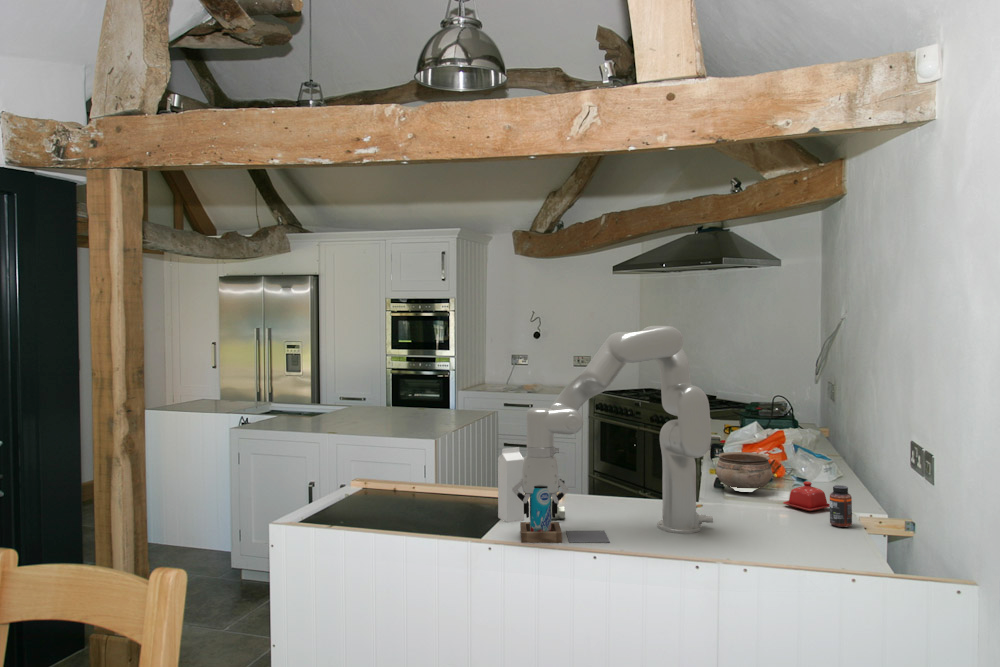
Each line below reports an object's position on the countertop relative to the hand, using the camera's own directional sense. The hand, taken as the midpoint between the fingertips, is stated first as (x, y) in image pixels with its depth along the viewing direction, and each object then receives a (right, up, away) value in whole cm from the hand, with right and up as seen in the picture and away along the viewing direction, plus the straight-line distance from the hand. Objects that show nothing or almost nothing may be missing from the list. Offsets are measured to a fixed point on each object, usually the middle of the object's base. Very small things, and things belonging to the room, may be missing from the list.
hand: (540, 515), depth 202 cm
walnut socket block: (0, -6, 0) cm, 6 cm away
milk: (-8, -6, +19) cm, 22 cm away
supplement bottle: (+89, -6, +12) cm, 90 cm away
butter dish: (+88, -6, +33) cm, 94 cm away
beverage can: (0, -6, 0) cm, 6 cm away
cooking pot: (+75, -5, +56) cm, 94 cm away
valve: (+5, -6, +19) cm, 21 cm away
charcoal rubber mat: (+13, -6, 0) cm, 14 cm away
